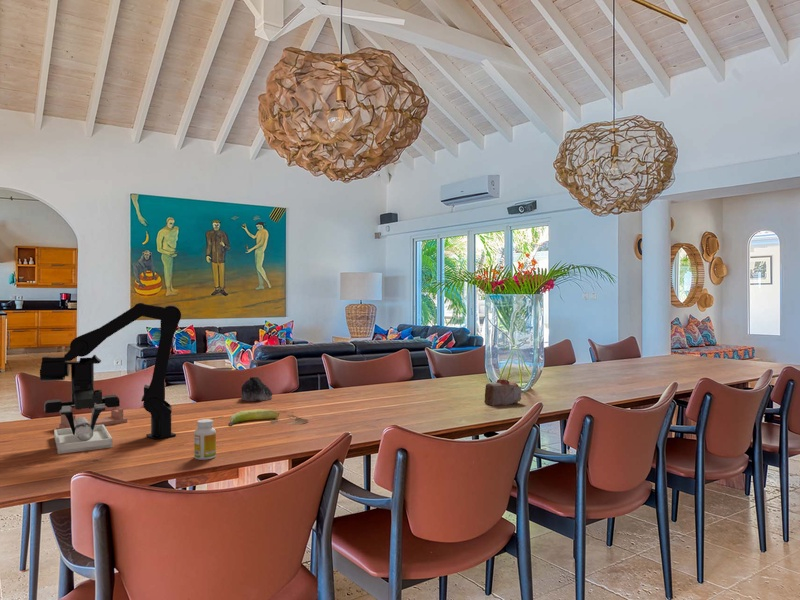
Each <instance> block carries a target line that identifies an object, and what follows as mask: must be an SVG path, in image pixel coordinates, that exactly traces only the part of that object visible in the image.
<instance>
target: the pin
mask: <svg viewBox="0 0 800 600" xmlns="http://www.w3.org/2000/svg"><path fill="white" fill-rule="evenodd" d="M87 420H88V419H87V417H84V416H78V417H75V420H74V427H75V433H76V435H77V437H78V439H79V440H81V441H88V440H90V439H91V438H92V436H93V430H92V428H91V427H90V425H89V423H88V421H87Z"/></svg>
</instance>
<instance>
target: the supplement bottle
mask: <svg viewBox="0 0 800 600" xmlns="http://www.w3.org/2000/svg"><path fill="white" fill-rule="evenodd" d="M196 423H197V424H196V426H197V428H196V429H195V430H194V434H193V435H194V436H193V437H194V438H193V439H194V448H193V450H194V451H193V452H194V456H193V457H194V459H195V460H199V461H201V460H202V461H207V460H212V459H214V458H215V457H216V455H217V431H216V429H215V428H214V419H212V418H206V419H205V418H203V419H198V420H197V421H196Z"/></svg>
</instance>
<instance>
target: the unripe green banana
mask: <svg viewBox="0 0 800 600" xmlns="http://www.w3.org/2000/svg"><path fill="white" fill-rule="evenodd" d="M281 413H284V414H286V416H287V417H286V416H283V419H285V418H288V419H290V420H293V421H290V422H289V423H287V425H298V426H299V425H304V424H306V423H308V422H309V420H308V419H305V418H303V417H298V416H295V415H294V412H293V411H292V413H289V411H288V410H287V411H286V410H280V411H279V410H278V411H277V410H274V409H263V408H262V409H259V408H258V409H249V410H241V411H237V412H235V413H234V414H232V415H231V416H230V418H229V421H230V422H229V423H228V425H229V426H230V427H231V426H234V425H236V424H240V423H244V422H245V423H246V422H251V421H264V420H269V422H270V423H269V424H270V425H272V424H277V423H279V422H281V421H280V419H277V418H279V417H280V416H279V415H280V414H281ZM287 413H288V414H287ZM221 418H223V416H218V417H217V419H221ZM214 419H216V417H213V418H211V420H214ZM294 421H295V422H294ZM280 426H281V425H279V424H278V426H277V427H280ZM247 429H248V428H247ZM244 430H246V429H239V430H238V431H239V432H241V431H244Z"/></svg>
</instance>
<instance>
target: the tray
mask: <svg viewBox="0 0 800 600" xmlns="http://www.w3.org/2000/svg"><path fill="white" fill-rule="evenodd" d="M53 432H54V433H53V438H54V442H55V446H56V447H55V448H56V451H57V454H58V455H60V454H69V453H76V452H84V451H93V450H101V449H109V448H113V444H114V443H113V437H112V436H111V434H110V432H109V431H108V429H107V427H106V425H105V426H104V424H103V425H95V426H94V429H93V436H92V438H91V439H90V440H88V441H81V440H79V439H78V437H77V435H76V433H75V435H73V432H72V430H71V428H65V429H61V428H58V429H57V428H56V429H54V430H53Z"/></svg>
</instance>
